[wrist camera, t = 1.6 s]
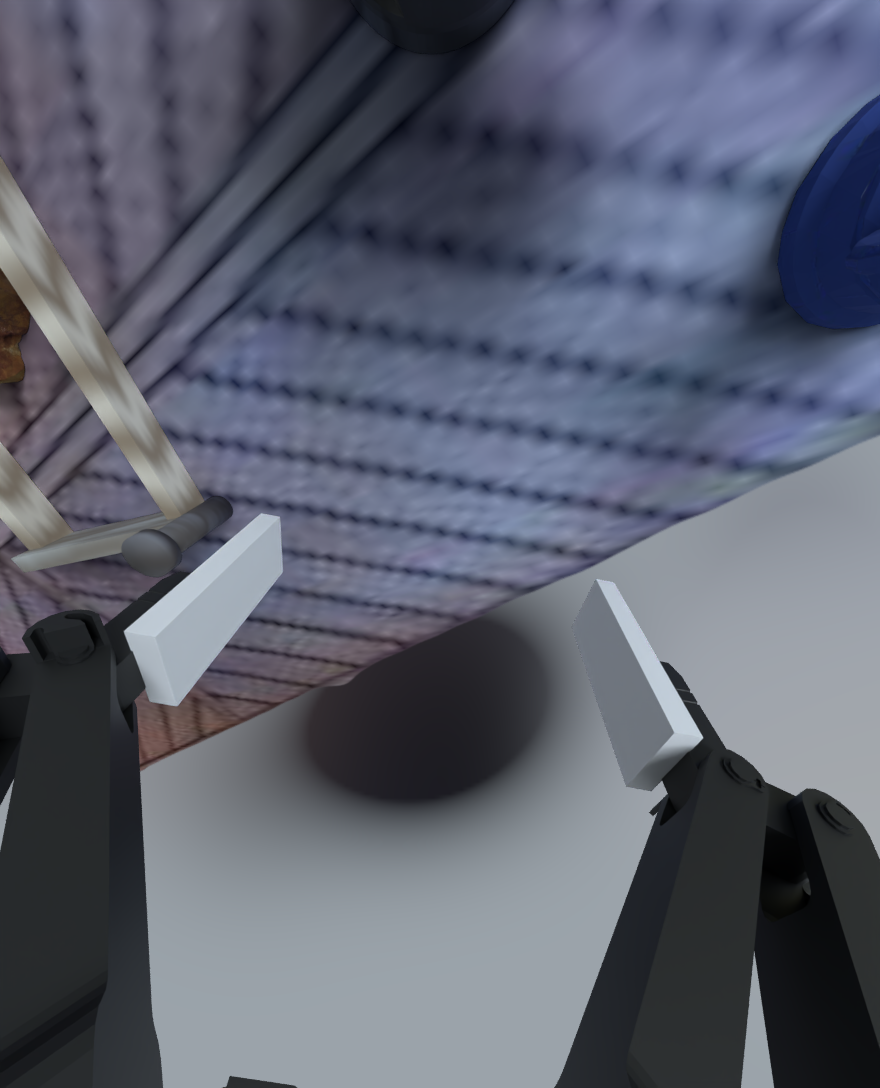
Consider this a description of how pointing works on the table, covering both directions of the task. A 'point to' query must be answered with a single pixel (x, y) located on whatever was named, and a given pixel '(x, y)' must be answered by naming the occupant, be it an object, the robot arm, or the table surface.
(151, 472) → the bay
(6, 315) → the stone
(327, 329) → the table surface
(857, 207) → the lantern
